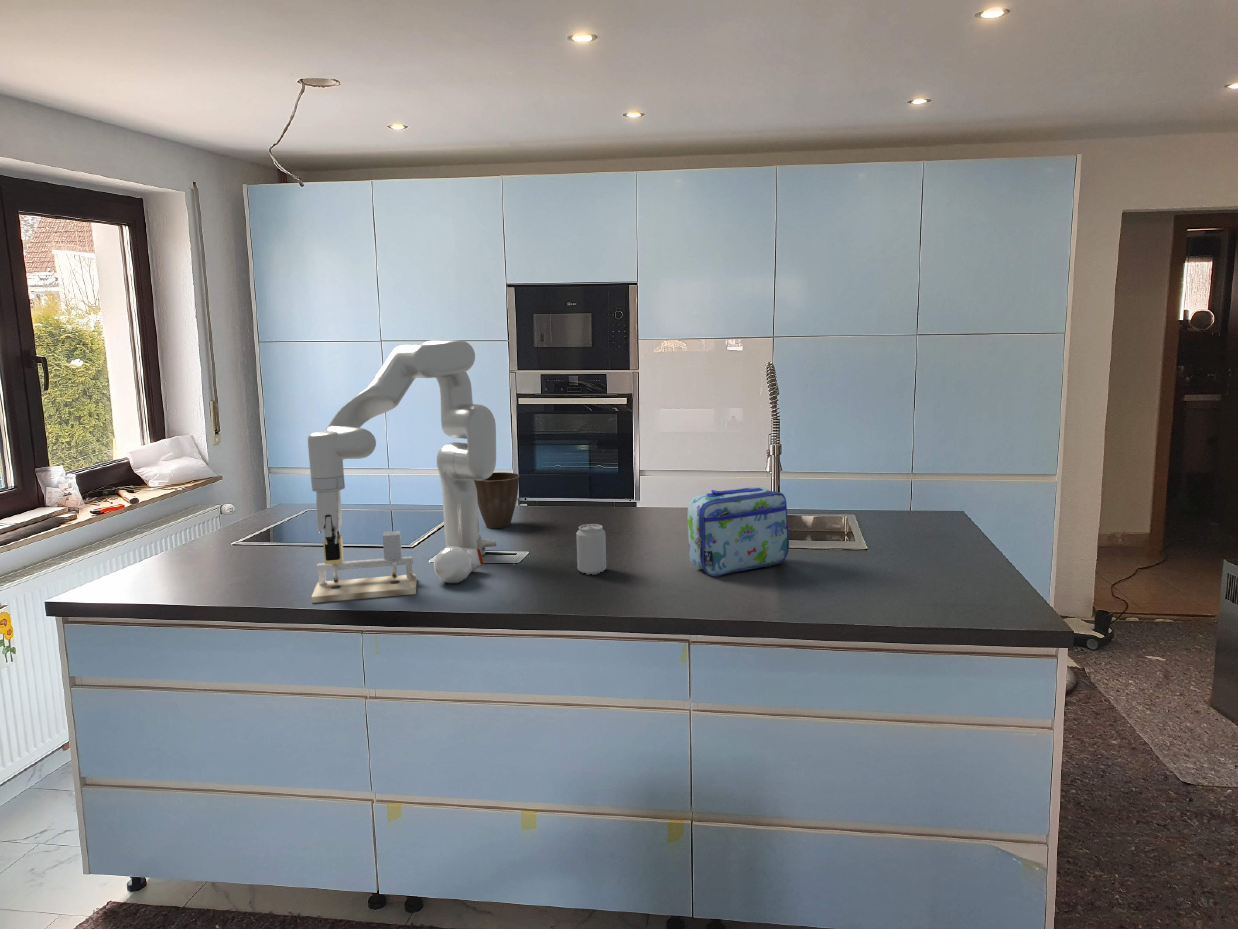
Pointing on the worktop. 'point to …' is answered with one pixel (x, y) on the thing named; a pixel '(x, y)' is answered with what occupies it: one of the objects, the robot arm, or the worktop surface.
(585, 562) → the can
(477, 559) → the potion bottle
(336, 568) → the block
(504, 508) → the plant pot
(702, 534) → the lunch box
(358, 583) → the hole plate
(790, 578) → the worktop surface
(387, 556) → the trammel frame
